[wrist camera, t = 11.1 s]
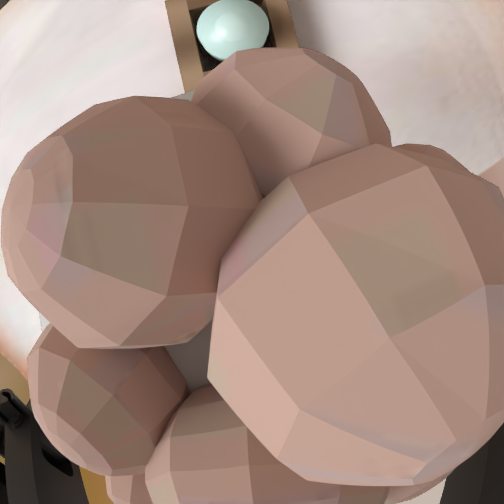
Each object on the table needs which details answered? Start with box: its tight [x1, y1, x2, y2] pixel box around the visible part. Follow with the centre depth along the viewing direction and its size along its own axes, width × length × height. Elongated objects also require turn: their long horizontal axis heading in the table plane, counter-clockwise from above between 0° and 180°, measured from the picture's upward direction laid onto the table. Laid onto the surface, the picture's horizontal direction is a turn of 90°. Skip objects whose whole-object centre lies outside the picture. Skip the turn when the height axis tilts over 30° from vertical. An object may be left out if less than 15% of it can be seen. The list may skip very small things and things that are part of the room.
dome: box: [197, 0, 269, 62], centre depth 18 cm, size 6×6×4 cm
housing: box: [165, 0, 299, 93], centre depth 19 cm, size 10×10×3 cm
